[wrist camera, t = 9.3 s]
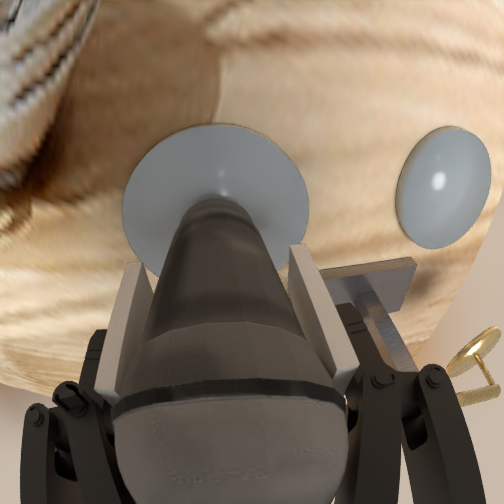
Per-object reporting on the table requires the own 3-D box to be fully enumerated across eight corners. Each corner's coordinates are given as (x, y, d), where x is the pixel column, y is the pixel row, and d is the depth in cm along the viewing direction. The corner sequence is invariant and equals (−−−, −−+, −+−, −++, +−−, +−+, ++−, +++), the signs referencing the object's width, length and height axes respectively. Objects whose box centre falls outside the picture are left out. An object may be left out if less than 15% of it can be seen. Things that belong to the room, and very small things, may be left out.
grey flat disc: (109, 140, 15) (102, 145, 14) (306, 118, 16) (312, 121, 15) (150, 289, 22) (148, 299, 21) (299, 272, 23) (303, 282, 22)
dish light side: (406, 117, 16) (416, 121, 15) (491, 135, 17) (500, 140, 16) (384, 247, 22) (390, 255, 21) (465, 236, 23) (472, 243, 22)
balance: (240, 280, 22) (273, 482, 10) (450, 250, 24) (535, 361, 12) (245, 328, 26) (271, 491, 14) (432, 293, 27) (498, 399, 15)
